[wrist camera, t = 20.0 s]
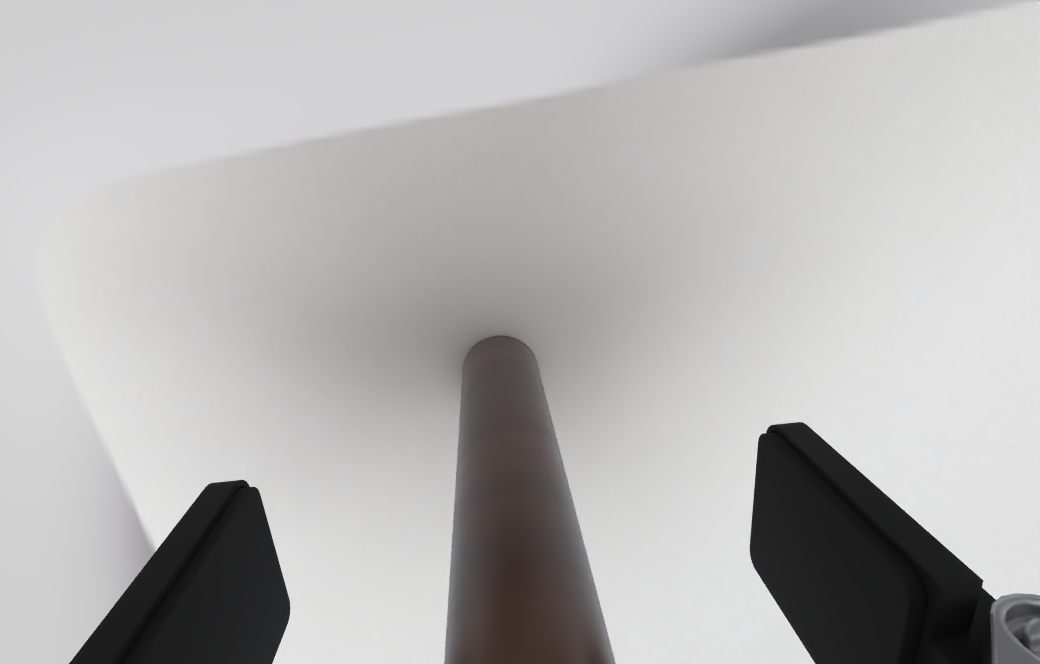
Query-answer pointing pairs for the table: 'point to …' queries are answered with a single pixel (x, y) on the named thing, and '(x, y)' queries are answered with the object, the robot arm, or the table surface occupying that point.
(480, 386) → the stick
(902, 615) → the robot arm
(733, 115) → the table surface
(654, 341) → the table surface
